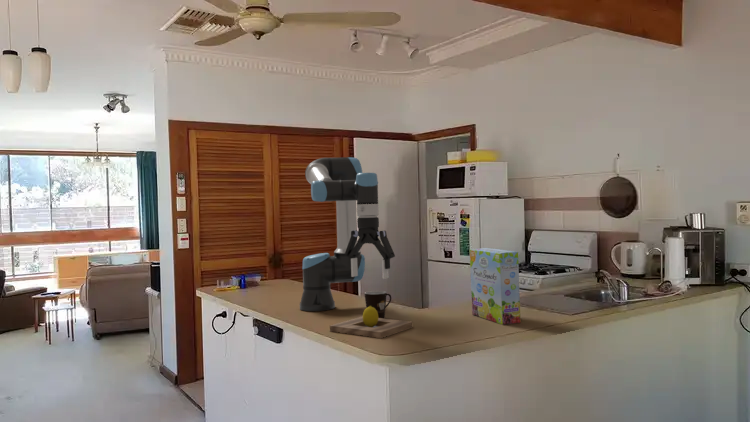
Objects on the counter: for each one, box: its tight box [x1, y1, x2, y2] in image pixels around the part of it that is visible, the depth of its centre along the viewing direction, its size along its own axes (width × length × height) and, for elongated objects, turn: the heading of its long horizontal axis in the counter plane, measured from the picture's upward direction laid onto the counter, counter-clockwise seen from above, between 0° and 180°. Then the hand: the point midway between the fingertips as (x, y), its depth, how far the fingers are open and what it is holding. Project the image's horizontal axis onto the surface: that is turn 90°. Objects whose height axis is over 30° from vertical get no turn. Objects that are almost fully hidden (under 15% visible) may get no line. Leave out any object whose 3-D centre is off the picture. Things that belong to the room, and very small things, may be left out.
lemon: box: [362, 306, 378, 328], centre depth 198 cm, size 6×6×8 cm
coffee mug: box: [363, 290, 392, 319], centre depth 218 cm, size 12×9×10 cm
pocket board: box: [329, 315, 413, 339], centre depth 198 cm, size 22×19×2 cm
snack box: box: [469, 247, 522, 326], centre depth 210 cm, size 22×9×26 cm, turn 21°
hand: (369, 277), depth 198 cm, fingers open, 13 cm apart
